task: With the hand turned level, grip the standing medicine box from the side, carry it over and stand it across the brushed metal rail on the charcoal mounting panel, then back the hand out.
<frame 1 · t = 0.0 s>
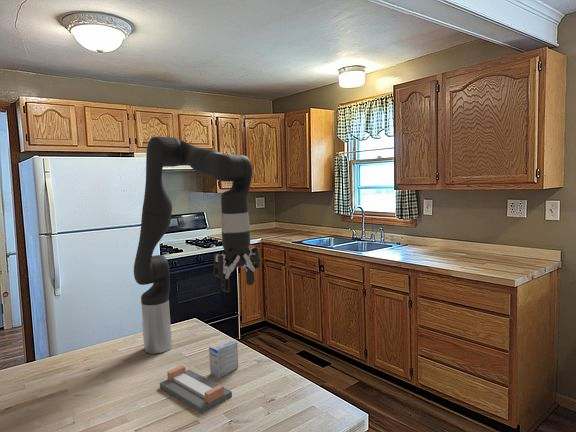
hand: (238, 288, 108), 29 cm above the countertop, tool pointing down, fingers open, 8 cm apart
rail panel: (195, 392, 111), on the countertop
medicine box: (224, 371, 123), on the countertop
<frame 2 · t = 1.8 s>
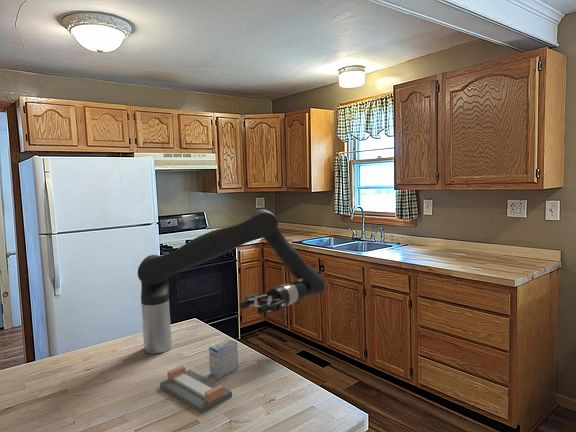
hand: (249, 308, 129), 17 cm above the countertop, tool horizontal, fingers open, 8 cm apart
nothing on the countertop moved.
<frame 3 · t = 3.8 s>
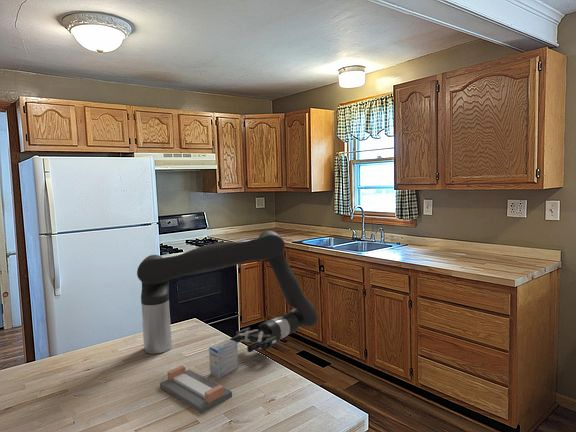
hand: (239, 345, 127), 6 cm above the countertop, tool horizontal, fingers open, 8 cm apart
nothing on the countertop moved.
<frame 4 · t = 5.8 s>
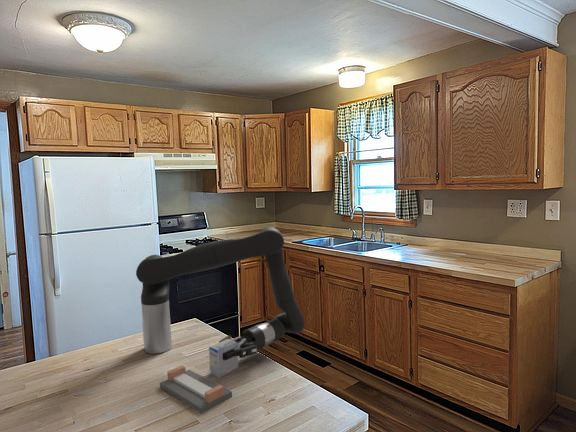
hand: (218, 354, 120), 6 cm above the countertop, tool horizontal, fingers closed on medicine box, 4 cm apart
medicine box: (224, 371, 123), on the countertop, touching gripper
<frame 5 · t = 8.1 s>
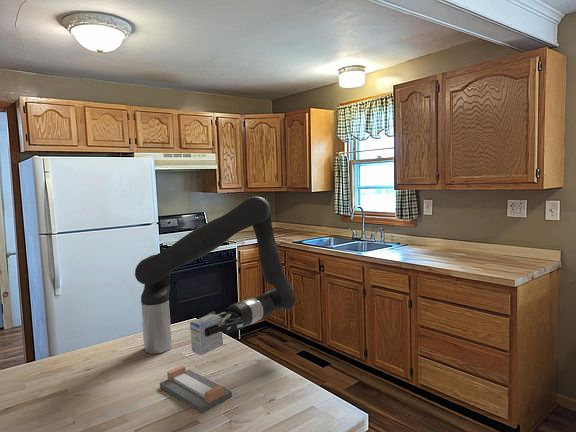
hand: (200, 330, 110), 18 cm above the countertop, tool horizontal, fingers closed on medicine box, 4 cm apart
medicine box: (207, 349, 112), point 11 cm above the countertop, touching gripper
when the fingers open (10 cm above the countertop, at t = 10.3 s): medicine box drops 1 cm, resting on rail panel.
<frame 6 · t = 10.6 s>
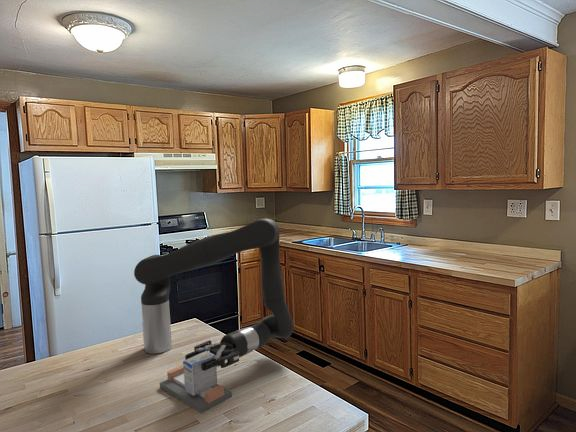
hand: (194, 363, 107), 10 cm above the countertop, tool horizontal, fingers open, 7 cm apart
medicine box: (201, 388, 109), point 2 cm above the countertop, touching rail panel
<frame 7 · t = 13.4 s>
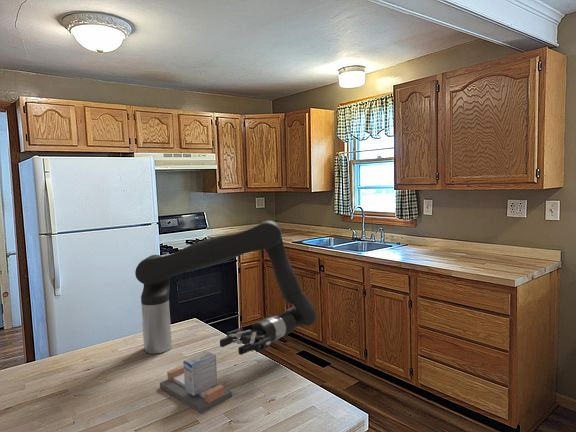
hand: (229, 347, 116), 10 cm above the countertop, tool horizontal, fingers open, 8 cm apart
nothing on the countertop moved.
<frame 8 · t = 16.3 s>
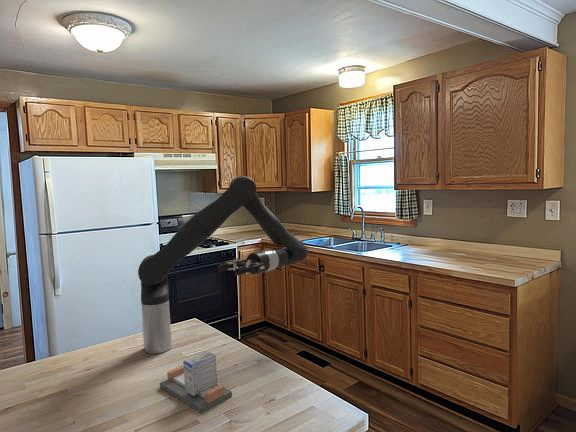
hand: (226, 270, 127), 30 cm above the countertop, tool horizontal, fingers open, 8 cm apart
nothing on the countertop moved.
at the end: medicine box inside the target area on the rail panel (2.1 cm from its centre), point 2.1 cm above the rail panel's base; medicine box tilted 0°; the gripper is holding nothing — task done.
